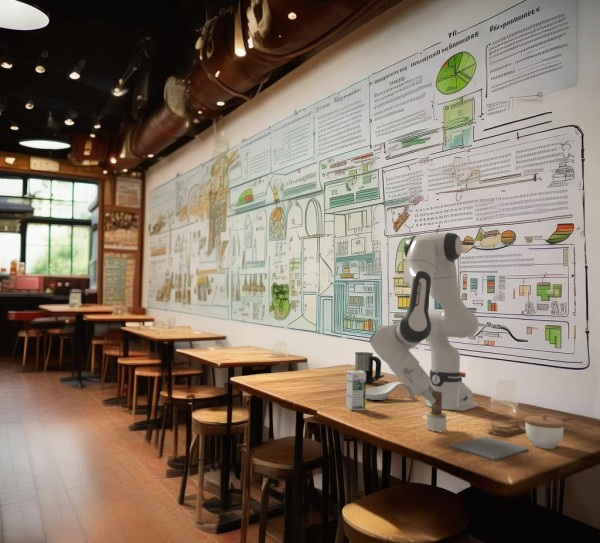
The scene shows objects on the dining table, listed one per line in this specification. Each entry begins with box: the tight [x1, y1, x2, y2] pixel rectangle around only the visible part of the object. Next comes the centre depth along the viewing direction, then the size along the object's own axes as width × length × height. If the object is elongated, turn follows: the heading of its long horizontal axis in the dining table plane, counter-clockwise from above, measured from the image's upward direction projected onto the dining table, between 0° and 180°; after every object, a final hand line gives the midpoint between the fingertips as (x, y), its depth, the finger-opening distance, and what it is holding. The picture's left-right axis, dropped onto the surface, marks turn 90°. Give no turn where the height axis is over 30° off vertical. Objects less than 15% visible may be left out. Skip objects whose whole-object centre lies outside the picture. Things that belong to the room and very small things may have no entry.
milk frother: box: [354, 351, 385, 385], centre depth 265 cm, size 14×16×15 cm
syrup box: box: [345, 370, 367, 411], centre depth 199 cm, size 6×6×14 cm
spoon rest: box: [365, 381, 416, 401], centre depth 222 cm, size 24×12×7 cm, turn 112°
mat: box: [449, 436, 529, 461], centre depth 152 cm, size 18×14×1 cm
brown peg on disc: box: [426, 391, 447, 419], centre depth 172 cm, size 6×6×8 cm
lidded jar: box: [524, 413, 565, 450], centre depth 158 cm, size 11×11×9 cm
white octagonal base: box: [425, 415, 447, 432], centre depth 172 cm, size 6×6×4 cm
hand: (435, 400), depth 172 cm, fingers open, 8 cm apart
